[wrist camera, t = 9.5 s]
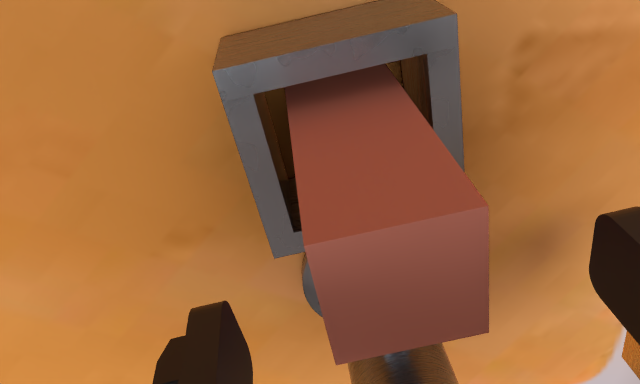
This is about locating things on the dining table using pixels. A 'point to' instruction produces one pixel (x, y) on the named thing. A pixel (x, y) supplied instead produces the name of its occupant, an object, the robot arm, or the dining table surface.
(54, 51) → the dining table surface
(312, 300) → the grey stand
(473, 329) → the red rectangular block
